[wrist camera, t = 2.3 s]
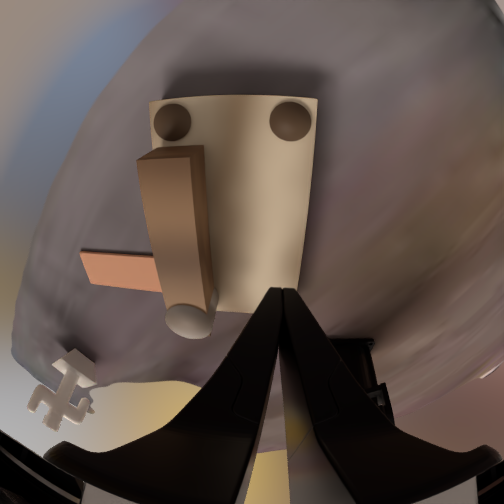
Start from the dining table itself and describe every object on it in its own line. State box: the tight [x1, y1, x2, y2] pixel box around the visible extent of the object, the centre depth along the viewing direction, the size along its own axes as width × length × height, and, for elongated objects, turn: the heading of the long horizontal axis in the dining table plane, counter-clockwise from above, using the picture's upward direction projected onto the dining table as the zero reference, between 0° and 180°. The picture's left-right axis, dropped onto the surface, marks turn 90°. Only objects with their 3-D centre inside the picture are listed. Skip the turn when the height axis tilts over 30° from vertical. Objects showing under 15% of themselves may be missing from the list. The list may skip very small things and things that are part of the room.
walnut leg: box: [136, 145, 219, 339], centre depth 18 cm, size 14×4×3 cm, turn 179°
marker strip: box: [80, 251, 162, 292], centre depth 24 cm, size 10×4×1 cm, turn 89°
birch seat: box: [149, 95, 318, 313], centre depth 19 cm, size 10×17×2 cm, turn 179°
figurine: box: [27, 348, 97, 432], centre depth 31 cm, size 7×9×15 cm
